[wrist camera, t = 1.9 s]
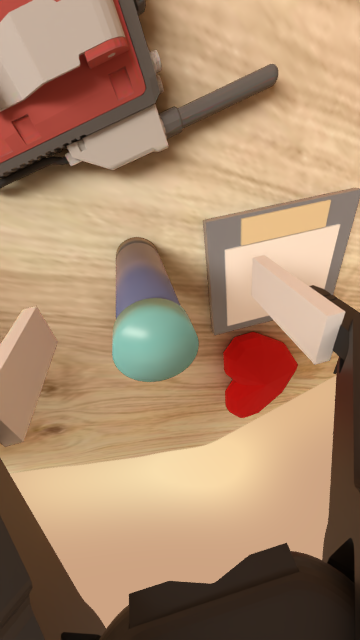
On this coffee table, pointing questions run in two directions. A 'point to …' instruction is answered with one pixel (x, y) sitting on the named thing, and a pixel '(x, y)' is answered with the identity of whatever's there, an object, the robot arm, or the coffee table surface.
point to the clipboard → (274, 251)
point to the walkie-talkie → (89, 87)
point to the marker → (149, 317)
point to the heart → (256, 372)
